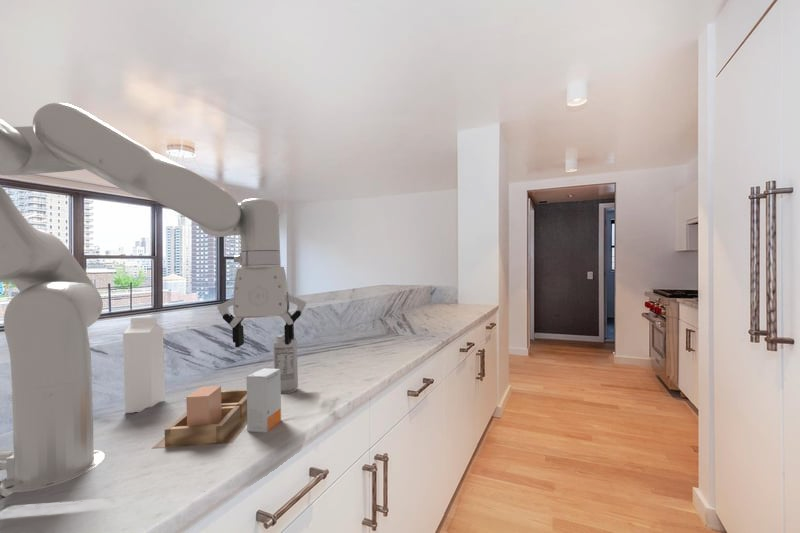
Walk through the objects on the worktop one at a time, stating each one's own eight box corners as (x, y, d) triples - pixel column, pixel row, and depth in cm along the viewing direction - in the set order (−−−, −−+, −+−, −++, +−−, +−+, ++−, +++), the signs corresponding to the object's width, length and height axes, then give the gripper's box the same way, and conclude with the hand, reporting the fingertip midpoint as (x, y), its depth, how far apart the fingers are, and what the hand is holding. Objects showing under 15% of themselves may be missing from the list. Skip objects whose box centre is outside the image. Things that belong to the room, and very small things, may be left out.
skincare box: (266, 438, 72) (264, 376, 72) (246, 437, 73) (245, 376, 73) (282, 425, 78) (281, 368, 78) (264, 424, 78) (262, 367, 78)
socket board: (151, 454, 66) (151, 431, 66) (204, 408, 88) (204, 391, 88) (232, 449, 68) (232, 426, 68) (265, 404, 90) (264, 387, 90)
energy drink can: (301, 387, 103) (299, 333, 103) (292, 394, 97) (291, 337, 97) (280, 387, 103) (279, 333, 103) (270, 394, 97) (269, 337, 97)
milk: (151, 412, 87) (149, 318, 87) (124, 413, 87) (122, 319, 87) (165, 402, 93) (163, 315, 93) (140, 404, 93) (137, 316, 93)
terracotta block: (187, 439, 69) (186, 397, 69) (201, 426, 75) (200, 387, 75) (209, 438, 70) (208, 395, 70) (221, 424, 76) (220, 385, 76)
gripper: (209, 262, 71) (212, 351, 71) (301, 258, 72) (304, 346, 72) (224, 262, 78) (226, 343, 78) (307, 259, 80) (310, 338, 80)
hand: (264, 344), depth 75 cm, fingers open, 9 cm apart
